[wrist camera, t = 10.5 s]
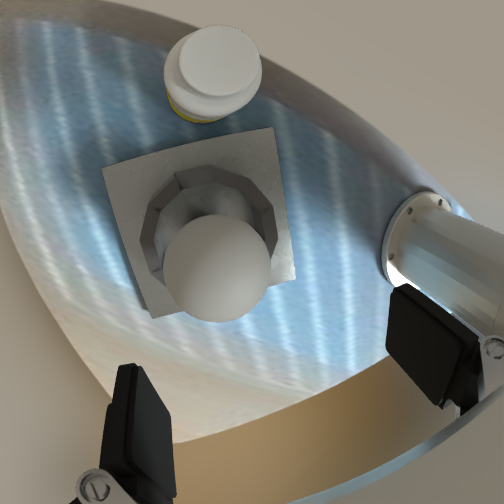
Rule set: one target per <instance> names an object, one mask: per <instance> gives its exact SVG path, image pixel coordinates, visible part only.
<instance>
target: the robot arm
mask: <svg viewBox="0 0 504 504" xmlns="http://www.w3.org/2000/svg"><path fill="white" fill-rule="evenodd" d="M381 260H382V268H383V271H384V275H385V276H386V278H387V280H388V281H389V282H390V283H391V284H392V285H393V286H394V287H395V288H394V289H393V292H392V293H391V295H390V306H389V317H388V327H387V335H386V343H385V346H386V350H387V352H388V353H389V354H390V355H391V356H392V357H393V359H394V360H395V361H396V362H397V363H398V364H399V365H400V367H401V368H402V369H403V370H404V371H405V372H406V373H407V374H408V376H409V377H410V378H411V379H412V380H413V381H414V382H415V384H416V385H417V386H418V387H419V388H420V389H421V390H422V391H423V393H424V394H425V395H426V396H427V397H428V399H429V400H430V401H431V402H432V403H433V404H434V405H438V406H439V407H440V408H441V409H444V408H445V407H447V406H449V405H450V404H451V403H452V402H454V403H455V404H456V419H455V421H454V422H452V423H451V424H450V425H448V426H447V427H445V428H444V429H442V430H441V431H439V432H438V433H437V434H435V435H433V436H432V437H430V438H429V439H427V440H426V441H424V442H423V443H421V444H419V445H418V446H416V447H414V448H413V449H411V450H409V451H408V452H406V453H404V454H402V455H400V456H399V457H397V458H395V459H393V460H391V461H389V462H388V463H386V464H384V465H382V466H380V467H378V468H376V469H374V470H372V471H370V472H368V473H365V474H363V475H361V476H359V477H357V478H354V479H352V480H350V481H348V482H345V483H343V484H340V485H338V486H335V487H333V488H330V489H328V490H325V491H322V492H319V493H317V494H314V495H311V496H308V497H305V498H302V499H299V500H296V501H292V502H289V503H286V504H504V234H501V233H499V232H497V231H494V230H492V229H490V228H488V227H485V226H483V225H480V224H478V223H476V222H473V221H472V220H468V219H466V218H463V217H461V216H458V215H456V214H453V213H452V210H451V208H450V206H449V204H448V202H447V201H446V200H445V199H444V198H443V197H442V196H440V195H439V194H436V193H433V192H427V191H423V192H419V193H416V194H414V195H412V196H410V197H409V198H408V199H407V200H405V201H404V202H403V203H402V205H401V206H400V207H399V208H398V209H397V211H396V212H395V214H394V215H393V217H392V219H391V221H390V223H389V225H388V227H387V230H386V233H385V236H384V240H383V245H382V255H381ZM418 289H421V290H422V291H424V292H425V293H427V294H428V295H430V296H431V297H432V298H434V299H435V300H437V301H438V302H439V303H441V304H442V305H443V306H445V307H446V308H448V309H449V310H450V311H452V312H453V313H454V314H456V315H457V316H458V317H460V318H461V319H462V320H464V321H465V322H466V323H468V324H469V325H470V326H472V327H473V328H474V329H476V330H477V331H478V332H479V333H481V334H482V335H483V336H485V338H484V339H483V340H482V341H481V343H479V342H478V338H479V337H478V336H477V335H476V334H475V333H473V332H472V331H471V330H470V329H469V328H467V327H466V326H465V325H463V324H462V323H461V322H460V321H459V320H457V319H456V318H455V317H453V316H452V315H451V314H450V313H448V312H447V311H446V310H444V309H443V308H442V307H440V306H439V305H438V304H436V303H435V302H434V301H432V300H431V299H430V298H428V297H427V296H426V295H424V294H423V293H422V292H420V291H419V290H418ZM174 472H175V471H174V459H173V444H172V426H171V416H170V413H169V411H168V410H167V408H166V406H165V405H164V403H163V402H162V400H161V398H160V397H159V395H158V394H157V392H156V390H155V389H154V387H153V385H152V383H151V382H150V380H149V378H148V377H147V375H146V373H145V371H144V369H143V368H142V367H141V366H137V365H136V364H135V363H131V364H125V365H120V366H119V367H118V371H117V376H116V382H115V387H114V393H113V399H112V403H111V404H109V405H108V407H107V411H106V417H105V424H104V431H103V439H102V446H101V455H100V465H99V469H90V470H87V471H86V472H84V473H83V474H82V475H81V476H80V477H79V479H78V480H77V482H76V487H75V488H76V494H77V496H78V497H77V498H75V499H74V500H73V501H72V502H71V503H70V504H173V499H172V498H175V497H176V495H177V493H176V482H175V473H174Z"/></svg>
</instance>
